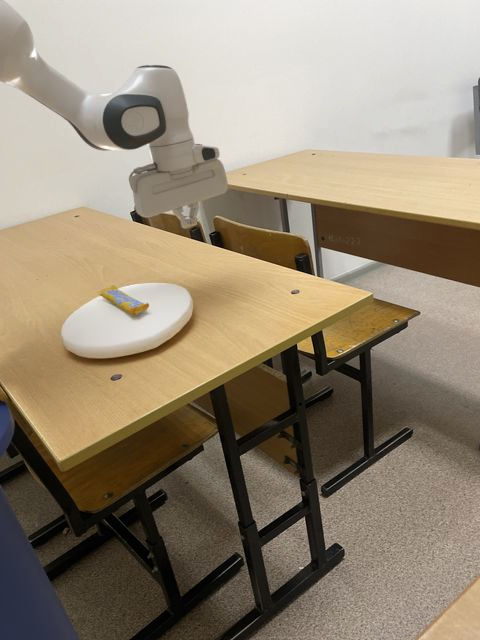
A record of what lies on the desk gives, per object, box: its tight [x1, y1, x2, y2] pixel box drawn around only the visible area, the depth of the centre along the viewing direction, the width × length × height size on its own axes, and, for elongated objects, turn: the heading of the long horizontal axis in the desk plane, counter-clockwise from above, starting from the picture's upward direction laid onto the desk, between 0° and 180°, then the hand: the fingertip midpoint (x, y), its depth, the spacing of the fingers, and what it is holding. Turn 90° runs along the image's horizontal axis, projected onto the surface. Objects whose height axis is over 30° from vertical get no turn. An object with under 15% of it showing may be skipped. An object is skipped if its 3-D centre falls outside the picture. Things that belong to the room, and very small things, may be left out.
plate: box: [60, 282, 194, 359], centre depth 108 cm, size 28×6×27 cm
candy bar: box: [96, 285, 149, 315], centre depth 106 cm, size 17×4×2 cm, turn 39°
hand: (189, 226), depth 110 cm, fingers closed
